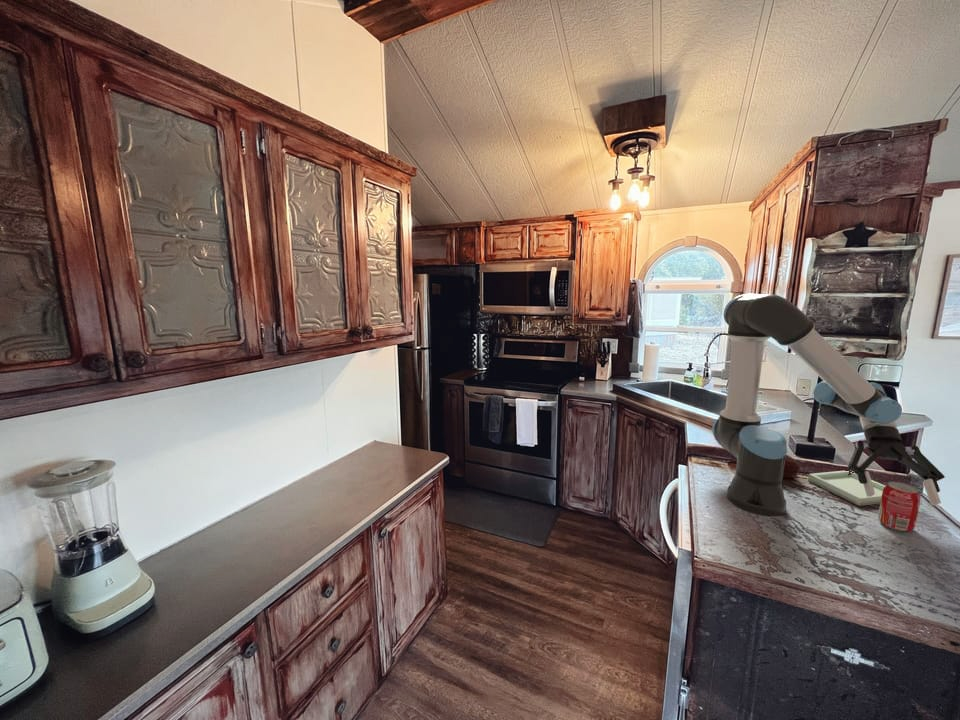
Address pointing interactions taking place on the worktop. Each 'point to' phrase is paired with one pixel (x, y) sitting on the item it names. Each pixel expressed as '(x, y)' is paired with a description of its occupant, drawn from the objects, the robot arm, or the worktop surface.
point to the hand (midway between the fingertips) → (902, 499)
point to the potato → (790, 467)
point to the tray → (847, 487)
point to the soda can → (899, 506)
